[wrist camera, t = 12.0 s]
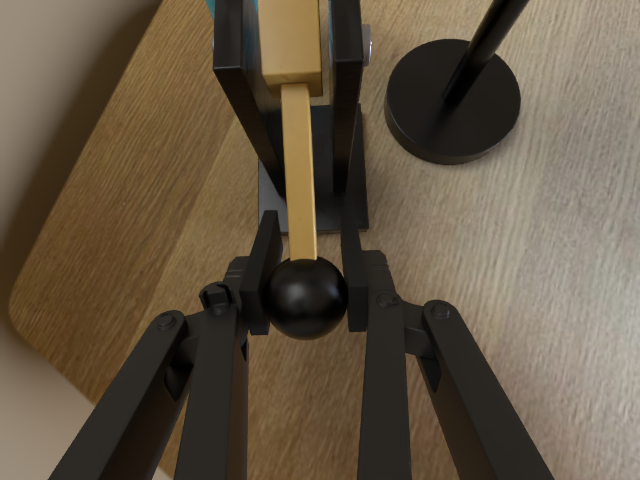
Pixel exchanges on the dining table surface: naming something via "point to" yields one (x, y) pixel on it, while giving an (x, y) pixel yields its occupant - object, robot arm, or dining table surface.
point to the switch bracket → (326, 120)
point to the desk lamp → (456, 93)
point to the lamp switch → (298, 172)
